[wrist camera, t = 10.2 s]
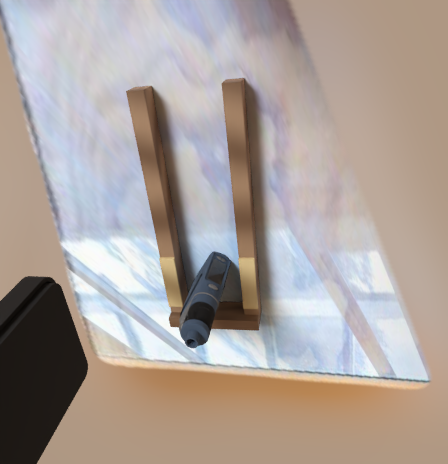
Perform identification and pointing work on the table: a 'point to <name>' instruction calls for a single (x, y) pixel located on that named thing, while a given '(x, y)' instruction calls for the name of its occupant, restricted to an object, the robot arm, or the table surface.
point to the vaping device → (203, 300)
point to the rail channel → (163, 214)
